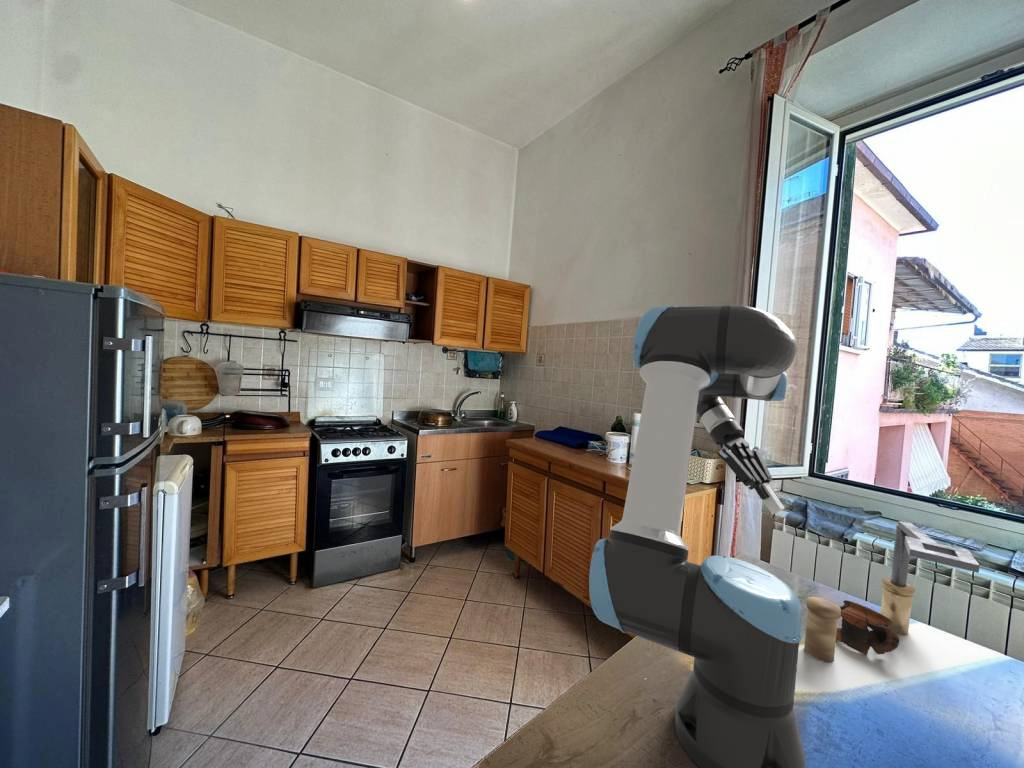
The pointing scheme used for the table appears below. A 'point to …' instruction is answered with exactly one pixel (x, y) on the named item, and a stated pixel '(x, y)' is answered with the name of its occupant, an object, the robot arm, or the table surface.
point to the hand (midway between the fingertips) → (778, 511)
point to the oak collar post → (821, 628)
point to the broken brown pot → (866, 629)
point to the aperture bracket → (896, 588)
